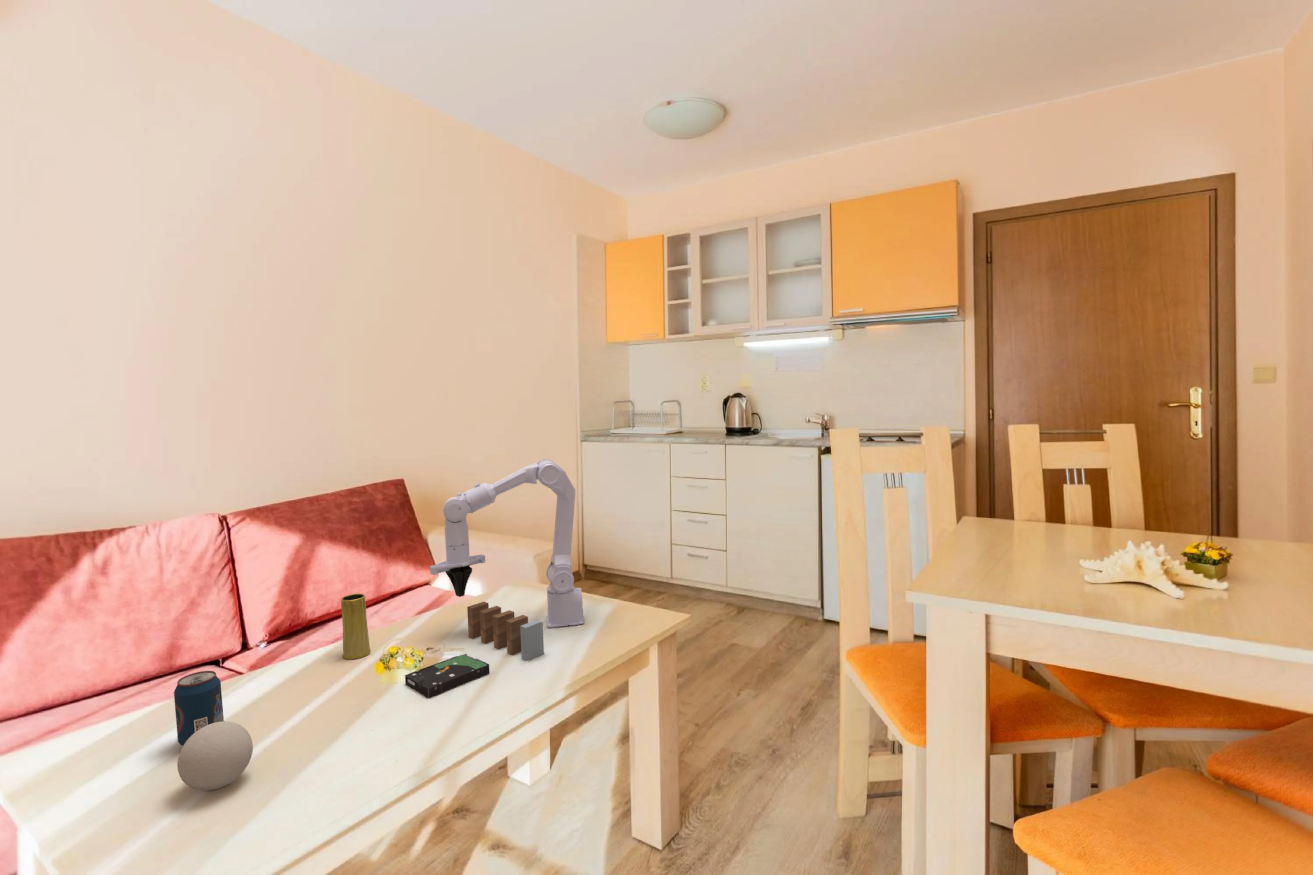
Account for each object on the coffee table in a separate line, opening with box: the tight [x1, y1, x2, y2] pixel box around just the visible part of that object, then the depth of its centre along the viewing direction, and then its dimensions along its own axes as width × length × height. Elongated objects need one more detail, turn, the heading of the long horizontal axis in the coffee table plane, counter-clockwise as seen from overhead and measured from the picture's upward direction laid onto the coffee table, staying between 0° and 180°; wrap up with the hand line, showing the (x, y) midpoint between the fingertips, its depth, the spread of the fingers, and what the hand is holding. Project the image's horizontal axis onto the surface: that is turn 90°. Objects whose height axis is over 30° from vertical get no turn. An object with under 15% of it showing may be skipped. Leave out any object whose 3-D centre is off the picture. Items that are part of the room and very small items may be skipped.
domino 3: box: [506, 614, 529, 656], centre depth 152 cm, size 2×5×8 cm, turn 139°
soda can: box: [173, 670, 225, 747], centre depth 115 cm, size 7×7×12 cm
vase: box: [340, 593, 372, 660], centre depth 153 cm, size 6×6×14 cm
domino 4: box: [520, 619, 545, 662], centre depth 149 cm, size 2×5×8 cm, turn 139°
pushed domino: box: [466, 601, 490, 640], centre depth 163 cm, size 2×5×8 cm, turn 139°
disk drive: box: [404, 653, 490, 699], centre depth 138 cm, size 10×3×15 cm
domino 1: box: [480, 605, 502, 645], centre depth 160 cm, size 2×5×8 cm, turn 139°
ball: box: [176, 721, 254, 792], centre depth 102 cm, size 10×10×10 cm
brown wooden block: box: [492, 610, 515, 651], centre depth 156 cm, size 2×5×8 cm, turn 139°
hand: (460, 595), depth 163 cm, fingers closed
